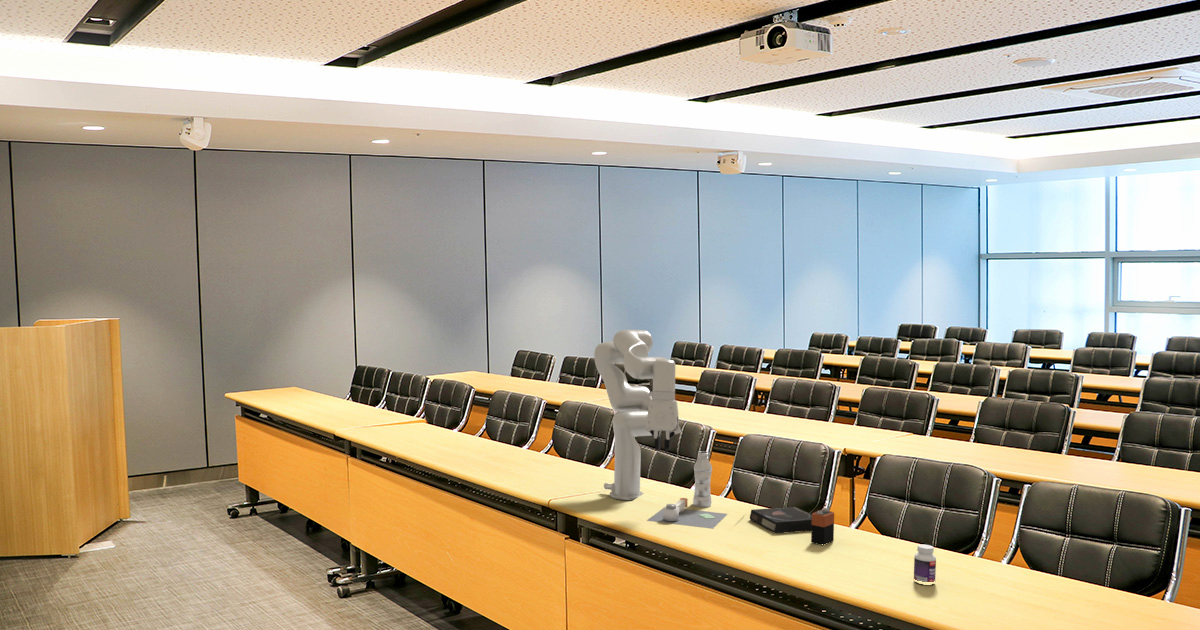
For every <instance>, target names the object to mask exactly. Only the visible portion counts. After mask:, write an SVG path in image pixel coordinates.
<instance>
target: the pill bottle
mask: <svg viewBox="0 0 1200 630" xmlns="http://www.w3.org/2000/svg"><path fill="white" fill-rule="evenodd" d="M934 550H935V549H934V546H933V545H930V544H925V543H924V544H918V545H917V549H916V551H917V552H916V553H915V554H914V558H913V559H914V560H913V580H914V579H915V580H917V581H922V582H934V581H935V582H936V571H937V569H936V567H937V558H936V557H937V556H935V555H934Z"/></svg>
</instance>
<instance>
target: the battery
mask: <svg viewBox="0 0 1200 630" xmlns="http://www.w3.org/2000/svg"><path fill="white" fill-rule="evenodd" d="M834 531H835V512H833V511H832V510H831V511H830V509H829V507H823V508H822V509H821V510H817V511H816V512H812V528H811V531H810V532H811V535H810V536H811V538H810V542H811V543H812V544H815V543H817V544H816V545H819V544H823V545H822V546H825V545H827V544H826V543H828V544H829V542H830V543H832V542H834V539H835V538H834V536H835V535H834V534H835V532H834ZM831 541H832V542H831ZM824 544H825V545H824Z"/></svg>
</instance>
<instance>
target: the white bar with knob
mask: <svg viewBox="0 0 1200 630" xmlns="http://www.w3.org/2000/svg"><path fill="white" fill-rule="evenodd" d="M688 500H689V499H688V498H687V497H681V498H679V500H678V501H676V502H675V503H667V504H665V505H666V506H664V507H663V508H662V509H663V519H664V520H666V521H678V520H679V512H680V511H681V510H682V509H686V508H688Z"/></svg>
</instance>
